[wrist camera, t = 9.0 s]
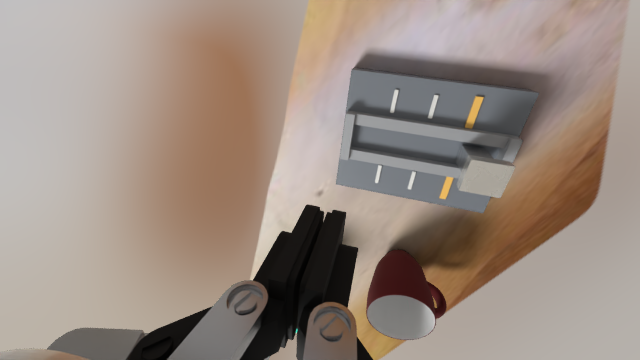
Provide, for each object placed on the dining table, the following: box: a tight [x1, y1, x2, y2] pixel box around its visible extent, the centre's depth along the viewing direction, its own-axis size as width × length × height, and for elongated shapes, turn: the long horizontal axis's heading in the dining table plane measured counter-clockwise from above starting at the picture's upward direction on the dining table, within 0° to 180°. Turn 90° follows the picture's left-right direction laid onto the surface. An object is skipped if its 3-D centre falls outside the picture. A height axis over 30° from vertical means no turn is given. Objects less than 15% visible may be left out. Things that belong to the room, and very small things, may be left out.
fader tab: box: [456, 144, 515, 198], centre depth 27 cm, size 3×4×6 cm
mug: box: [366, 250, 446, 340], centre depth 37 cm, size 11×8×10 cm
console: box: [336, 68, 539, 213], centre depth 31 cm, size 14×18×4 cm
